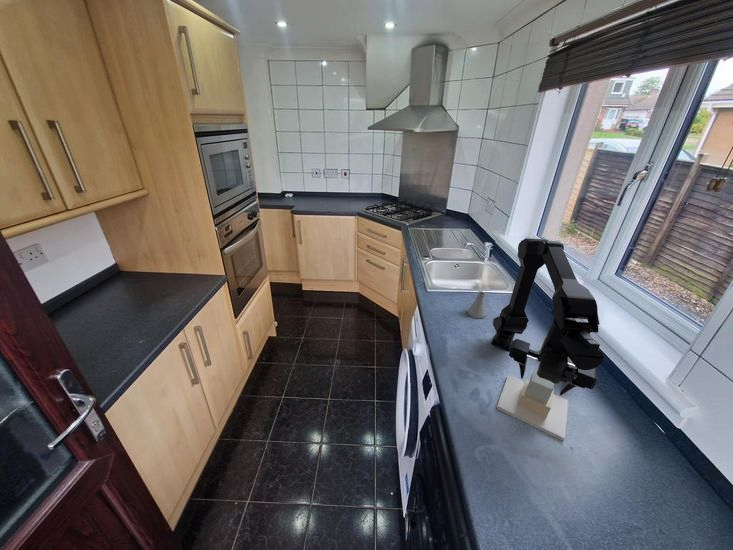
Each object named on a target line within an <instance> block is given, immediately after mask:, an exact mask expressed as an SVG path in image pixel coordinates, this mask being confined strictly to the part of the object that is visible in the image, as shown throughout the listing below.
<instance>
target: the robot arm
mask: <svg viewBox="0 0 733 550" xmlns="http://www.w3.org/2000/svg"><path fill="white" fill-rule="evenodd" d="M564 250H565V247H564V244H563V242H561V241H557V240H556V241H555V240H549V239H544V238H543V239H542V238H529V237H526V238H523V239H522V240H521V241H520V242H519V243H518V245H517V255H516V256H517V259H518V261H519V263H520V266H519V269H518V272H517V275H516V279H515V283H514V286H513V289H512V293H511V297H510V300H509V303H508V304H507V305H506V306H504V307H503V308H502V309H501V311H500V314H499V316H496V317H494V318H493V319H492V326H493V328H494V330H495V334H494V336H493V338H492V340H491V342H490V345H493V346H494V347H497V348H500V349H503V350H505V351H507V352H509V354H508V356H509V357H510V358H511V359H513V361H514V362H516V363H517V364H518V366H519V374H520V380H521V379H522V380H523V379H524V376H525V374H526V367H527V362H528V358H530V359H532V360H535V361H537V362H539V363H538V368H537V375H538V376H539V377H540V378H543V379H546V380H548V381H551V382H552V383H554V385H555V384H556V385H558V384H559V383H561V382H562V386H561V387H560V391H559V395H558V396H563V395H564V394H566V393H567V392H569V391H570V390H572V389H574V388H582V389H586V388H587V389H589V390H593V389H594V388H595V387H596V384H597V381H598V379H597V378H598V376H597V375H598V374H597V372H598V371H597V368H598V367H599V366H601V365H602V364H603V362H604V360H605V358H604V353H603V352H602V350H600V347H601V344H600V343H599V342H598V340H596V339H594V337H592V335H591V333H594V334H595V333H596V334H598V333H599V326H600V323H601V322H600V319H599V314H598V311H599V309H598V304H597V300H596V299H595V297H594V296H593V294H592V293H591V292H590V290H589V289H588V288H587V287H585V286H584V285H583V284H581V283H579V281H578V279H577V277H576V275H575V273H574V271H573V268H572V266H571V264H570V262H569V260H568V257H567V255H566V252H565V251H564ZM544 265H545V268H546V270H547V273H548V275H549V278H550V280H551V283H552V286H553V289H554V292H553V295H552V297H551V300H552V306H553V307H552V308H553V310H550V313H551V315H552V316H553V319H552V322H551V324H550V326H549V329H548V332H547V334H546V336H547V337H546V336H545V337H546V339H545V338H544V339H545V342H544V341H543V342H544V344H543V343H542V344H543V347H542V346H541V347H542V349H541V348H540V349H541V352H539V351H536V350H533V349H530V347H531V343H529V342H528V341H525V340H523V339H522V340H521V339H519V338H516V339H515V335H516V334H518V335H522V334H523V333H524V331H526V329H527V327H528V323H529V317H528V316H527V312H526V309H527V308H526V307H527V304H528V302H529V299H530V295H531V293H532V288H533V286H534V282H535V279H536V277H537V273H538V271H539V270H540V269H541V268H542V267H543V266H544ZM578 320H587V321H586V322H584V321H578ZM568 357H569V358H570V360H571V361H572V362H573V364H574V365H572V364H570V363H568Z"/></svg>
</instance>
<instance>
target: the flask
mask: <svg viewBox="0 0 733 550" xmlns="http://www.w3.org/2000/svg"><path fill="white" fill-rule="evenodd" d="M476 294H477V295H476V297H475V300H474V301H473V302H472V304H471V305H470V306H469V308H468V309H467V310H466V313H468V315H469V316H470V317H472V318H474V319H484V318H486V317H487V312H486V306H485V297H486V295H487V293H486V292H484V291H482V290H481V291H480V290H478V291H477V292H476Z"/></svg>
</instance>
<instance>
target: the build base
mask: <svg viewBox="0 0 733 550" xmlns="http://www.w3.org/2000/svg"><path fill="white" fill-rule="evenodd" d="M529 381H530V379H528V378H526V379H525V380H523V379H522V380H521V379H519V378H517V377H514V376H512V375H510V374H508V375H507V377H506V380H505V383H504V386H503V389H502V390H501V394H500V397H499V400H498V403H497V405H496V410H499V411H501V412H503V413H506V414H507V415H509V416H511V417H514V418H515V419H517V420H520V421H521V422H523V423H526V424H527V425H528V426H529V425H530V426H532V427H534V428H536V429H538V430H540V431H543V432H544V433H546V434H548V435H551V436H552V437H554V438H556V439H558V440H560V441H563V442H564V441H565V439H566V429H567V421H568V420H567V418H568V409H569V399H566V398H564V397H563V396H562V397H561V396H560V395H557V394H554V393H555V392H554V391H555V390H553V391H552V393H551V396H550V398H549V400H548V402H547V404H546V403H544V402H542V401H540V400H537V399H535V398H533V397H531V396H529V395H526V392H527V388H528V385H529Z"/></svg>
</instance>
